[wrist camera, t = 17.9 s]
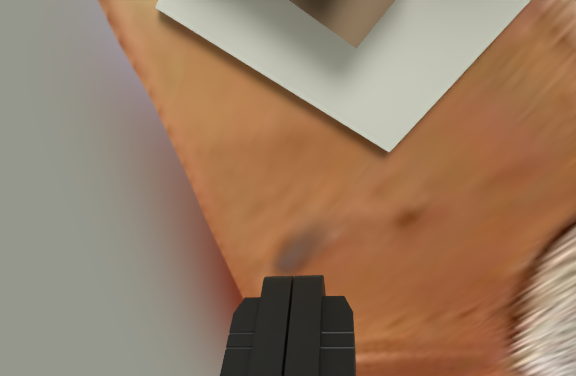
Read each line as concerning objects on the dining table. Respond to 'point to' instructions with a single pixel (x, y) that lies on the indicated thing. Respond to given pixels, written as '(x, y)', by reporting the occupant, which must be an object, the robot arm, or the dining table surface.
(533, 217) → the dining table surface
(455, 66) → the board
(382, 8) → the brown rectangular block
